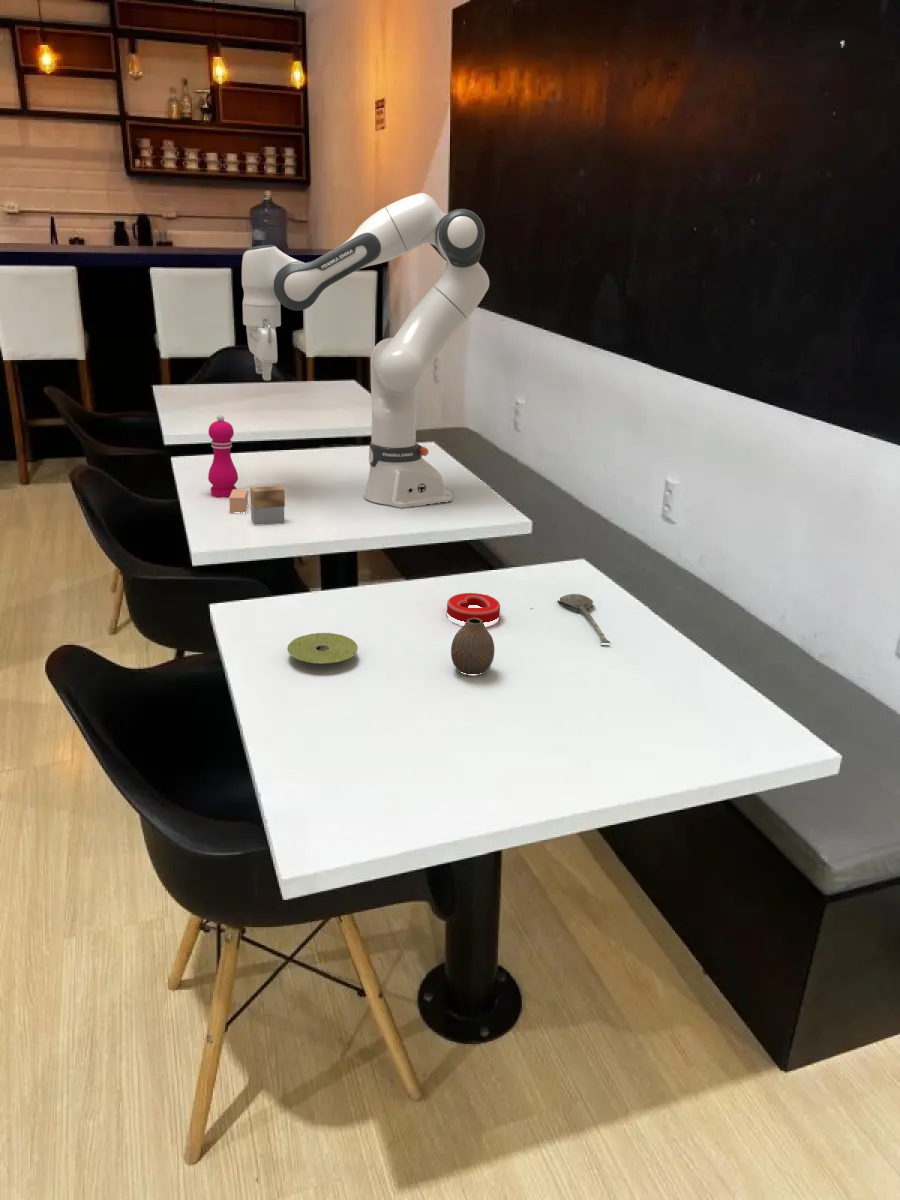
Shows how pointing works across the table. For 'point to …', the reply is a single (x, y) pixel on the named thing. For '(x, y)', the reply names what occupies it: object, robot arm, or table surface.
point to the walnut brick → (267, 497)
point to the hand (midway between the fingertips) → (263, 376)
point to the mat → (322, 648)
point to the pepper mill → (222, 459)
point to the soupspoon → (583, 609)
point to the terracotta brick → (238, 500)
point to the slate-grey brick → (267, 515)
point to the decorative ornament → (460, 610)
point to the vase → (472, 648)
